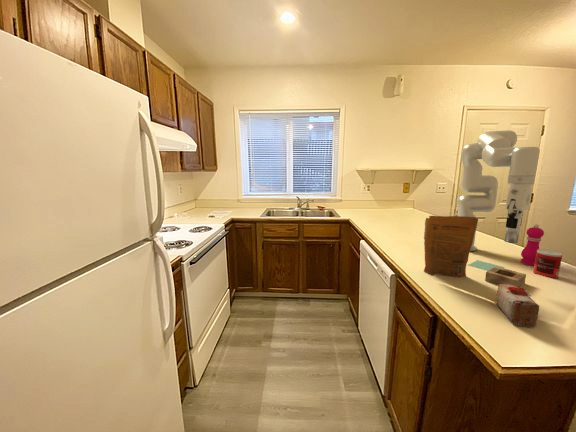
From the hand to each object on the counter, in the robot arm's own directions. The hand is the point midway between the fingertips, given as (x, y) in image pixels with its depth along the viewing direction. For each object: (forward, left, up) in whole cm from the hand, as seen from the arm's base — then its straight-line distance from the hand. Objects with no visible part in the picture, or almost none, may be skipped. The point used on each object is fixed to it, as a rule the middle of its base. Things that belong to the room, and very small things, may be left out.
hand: (513, 226), depth 98 cm
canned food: (+7, +24, -25) cm, 35 cm away
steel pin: (0, 0, -6) cm, 6 cm away
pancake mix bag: (-18, -11, -25) cm, 33 cm away
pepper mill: (-1, +36, -25) cm, 44 cm away
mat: (-11, +13, -25) cm, 30 cm away
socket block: (0, 0, -25) cm, 25 cm away
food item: (+10, -24, -25) cm, 36 cm away
